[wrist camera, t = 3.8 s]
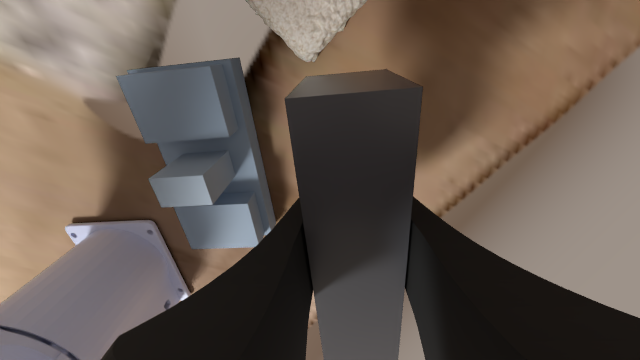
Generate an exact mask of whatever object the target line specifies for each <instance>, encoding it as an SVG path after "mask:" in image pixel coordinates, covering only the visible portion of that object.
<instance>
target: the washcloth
mask: <svg viewBox="0 0 640 360" xmlns="http://www.w3.org/2000/svg"><path fill="white" fill-rule="evenodd" d="M366 1H367V0H246V2H248V3H249V5H250V6H251V8H252V9H254V10H255V11H256V15H259V16H260V17H261V18H262V19H263V20H264V22H265V24H266V25H268V26H269V27H270V28H271V29H272V30H273V31H274V32H275V33H276V34H277V35H279V36H281V38H282V39H283V40H284V41H285V43H286V44H287V46H288V47H289V48H290V49H292V50H293V51H294V53H295V55H296V56H298V57H299V58H301V59H302V60H304V61H306V62H310V61H313V62H315V60H316V59H317V57H318V54H319V52H320V51H321V50H322V49H324V47H325V46H326V45H327V43H328V42H330V41H331V40H332V39H333V37H334V36H335V34H336V33H337V32H338V31H343V30H344V27H345V25H346V21H348V19H349V18H350V17H352V16H353V15H354V14H355V13H356V11H357V9H359V8H361V7H362V6H363V5H364V4H365V3H366Z"/></svg>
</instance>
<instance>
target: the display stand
mask: <svg viewBox="0 0 640 360" xmlns="http://www.w3.org/2000/svg"><path fill="white" fill-rule="evenodd" d="M127 72H128V75H121V76H116V77H117V80H118V82H119V84H120V86H121V89H122V91H123V93H124V96H125V98H126V100H127V102H128V105H129V107H130V109H131V111H132V114H133V116H134V118H135V121H136V123H137V125H138V127H139V130H140V132H141V134H142V137H143V139H144V141H145V143H146V144H147V143H157V144H158V147H159V149H160V151H161V154H162V156H163V159H164V161H165V163H166V167H164V168H163V169H161V170H160V171H159V172H157V173H156V174H154V175H153V176H152V177H150V178H149V179H148V180H149V182H150V184H151V186H152V188H153V190H154V192H155V195H156V197H157V199H158V201H159V203H160V205H161V207H174V210H175V212H176V214H177V216H178V219H179V221H180V223H181V226H182V228H183V230H184V232H185V235H186V237H187V239H188V241H189V244H190V246H191V248H192V249H212V248H242V247H256V246H257V245H258V244H259V243H260V242H261V240H262V239H263V236H264V235H267V234H268V233H269V232H270V231H271V230H272V229H273V228H274V227H275V224H276V220H275V215H274V211H273V206H272V202H271V197H270V193H269V188H268V184H267V179H266V175H265V170H264V166H263V161H262V157H261V152H260V148H259V143H258V139H257V134H256V130H255V125H254V121H253V116H252V112H251V107H250V103H249V98H248V94H247V89H246V85H245V80H244V76H243V71H242V67H241V63H240V58H232V59H223V60H214V61H205V62H196V63H187V64H178V65H169V66H160V67H151V68H142V69H134V70H127Z"/></svg>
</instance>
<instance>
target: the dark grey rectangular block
mask: <svg viewBox="0 0 640 360" xmlns="http://www.w3.org/2000/svg"><path fill="white" fill-rule="evenodd" d="M422 91H423V87H422V86H420V85H418V84H416V83H414V82H412V81H410V80H408V79H406V78H404V77H402V76H400V75H397V74H395V73H393V72H391V71H389V70H387V69H384V70H373V71H362V72H351V73H340V74H329V75H319V76H308V77H305V78H304V79H303V80H302V81H301V82H300V83H299V84H298V85H297V86H296V87H295V88H294V90H293V91H292V92H291V93H290V94H289V95H288V96H287V97H286V98H285V105H286V112H287V118H288V125H289V132H290V138H291V145H292V151H293V158H294V165H295V171H296V178H297V185H298V191H299V198H300V204H301V211H302V218H303V224H304V231H305V238H306V244H307V251H308V257H309V264H310V271H311V277H312V284H313V291H314V297H315V304H316V310H317V317H318V323H319V330H320V337H321V344H322V350H323V357H324V360H398V354H399V343H400V332H401V321H402V310H403V299H404V289H405V278H406V267H407V256H408V245H409V234H410V223H411V212H412V201H413V190H414V179H415V168H416V157H417V146H418V135H419V124H420V113H421V102H422Z"/></svg>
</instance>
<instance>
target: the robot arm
mask: <svg viewBox="0 0 640 360" xmlns="http://www.w3.org/2000/svg"><path fill="white" fill-rule="evenodd" d="M65 230H66V232H67V233H68V235H69V236H70V238H71V239H72V240H73V242H74V243H75V245H76V246H75V247H73V248H72V249H71V250H69V251H68V252H67V253H66V254H64V255H63V256H62V257H60V258H59V259H58V260H56V261H55V262H54V263H53V264H51V265H50V266H49V267H47V268H46V269H45V270H43V271H42V272H41V273H40V274H38V275H37V276H36V277H34V278H33V279H32V280H30V281H29V282H28V283H27V284H25V285H24V286H23V287H21V288H20V289H19V290H17V291H16V292H15V293H14V294H12V295H11V296H10V297H8V298H7V299H6V300H4V301H3V302H2V303H1V304H0V360H305V359H306V344H307V329H308V319H309V312H310V306H311V299H312V293H313V284H312V277H311V271H310V264H309V257H308V251H307V244H306V238H305V231H304V224H303V218H302V211H301V204H300V198H298V199H297V201H296V202H295V203H294V204H293V205H292V207H291V208H290V209H289V210H288V212H287V213H286V214H285V215H284V216H283V218H282V219H281V220H280V221H279V222H278V223H277V224H276V226H275V227H274V228H273V229H272V230H271V231H270V232H269V233H268V234H267V235H266V236H265V237H264V238H263V239H262V240H261V242H260V243H259V244H258V245H257V246H256V247H254V248H253V249H252V250H251V251H250V252H249V253H248V254H247V255H245V256H244V257H243V258H242V259H241V260H239V261H238V262H237V263H236V264H235V265H233V266H232V267H231V268H229V269H228V270H227V271H225V272H224V273H222V274H221V275H220V276H218V277H217V278H216V279H214V280H213V281H212V282H210V283H209V284H207V285H206V286H204V287H203V288H201V289H200V290H198V291H197V292H195V293H194V294H192V295H191V294H190V292H189V290H188V288H187V286H186V284H185V282H184V280H183V278H182V276H181V274H180V272H179V270H178V268H177V266H176V264H175V262H174V260H173V258H172V256H171V254H170V252H169V250H168V248H167V246H166V244H165V242H164V240H163V238H162V236H161V234H160V232H159V230H158V228H157V226H156V224H155V222H153V221H151V220H135V221H114V222H93V223H71V224H69V225H67V226H66V227H65ZM405 289H406V292H407V295H408V298H409V301H410V304H411V306H412V309H413V313H414V315H415V319H416V323H417V326H418V330H419V334H420V339H421V343H422V347H423V351H424V355H425V360H640V318H638V317H635V316H632V315H629V314H627V313H624V312H622V311H619V310H616V309H614V308H611V307H608V306H605V305H603V304H601V303H598V302H596V301H593V300H591V299H588V298H586V297H584V296H582V295H579V294H577V293H574V292H572V291H570V290H567V289H565V288H563V287H560V286H558V285H556V284H554V283H552V282H549V281H547V280H545V279H543V278H541V277H538V276H537V275H534V274H532V273H530V272H528V271H526V270H524V269H522V268H520V267H518V266H516V265H514V264H512V263H511V262H509V261H507V260H505V259H503V258H501V257H499V256H498V255H496V254H494V253H492V252H491V251H489V250H487V249H485V248H484V247H482V246H480V245H479V244H477V243H475V242H474V241H472V240H471V239H469V238H468V237H466V236H464V235H463V234H462V233H460V232H459V231H457V230H456V229H454V228H453V227H451V226H450V225H449V224H447V223H446V222H445V221H443V220H442V219H441V218H439V217H438V216H437V215H435V214H434V213H433V212H432V211H430V210H429V209H428V208H427V207H425V206H424V205H423V204H422V203H420V202H419V201H418V200H417V199H416V198H414V197H413V201H412V212H411V223H410V234H409V245H408V256H407V267H406V278H405ZM180 300H182V301H181V302H179V301H180ZM178 302H179V303H178Z"/></svg>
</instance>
